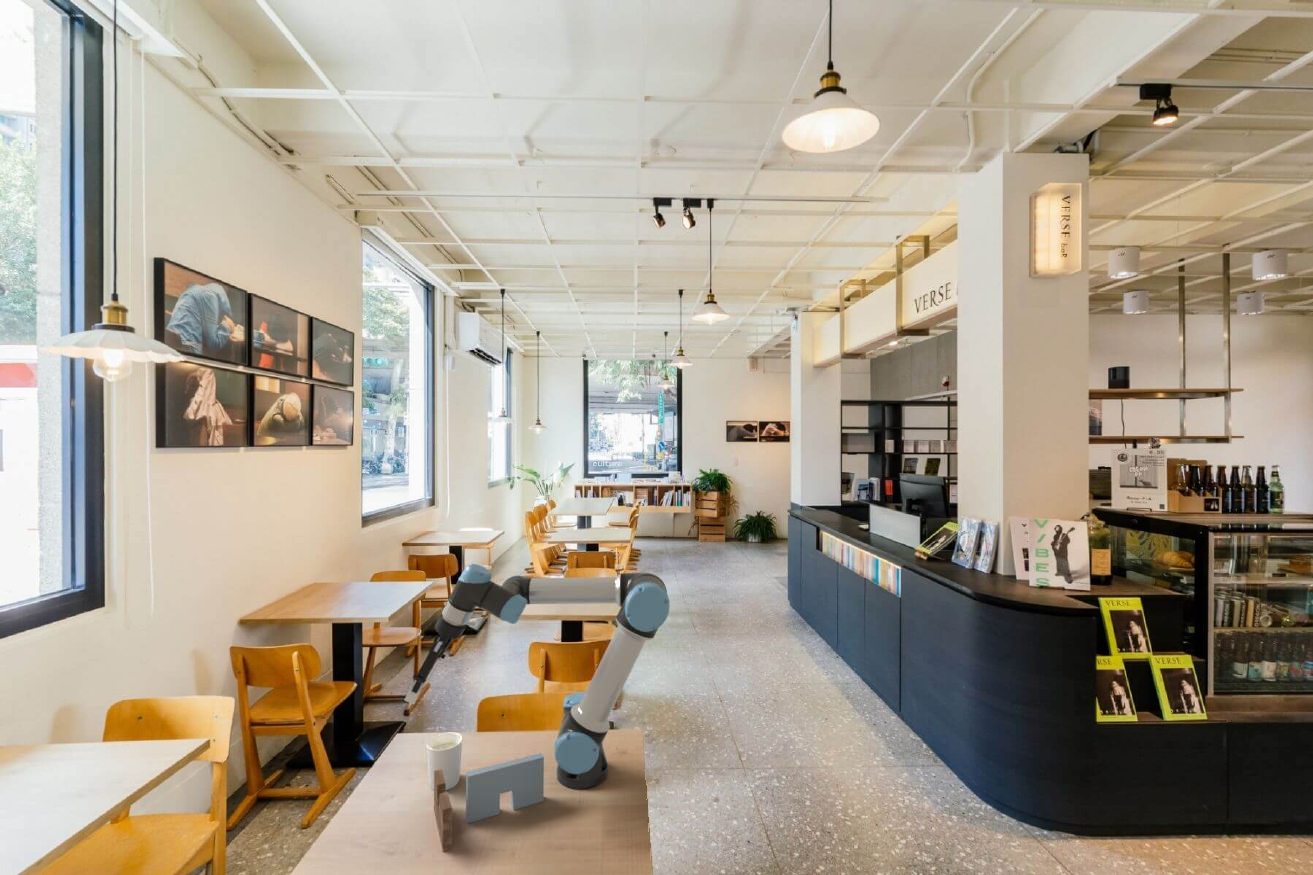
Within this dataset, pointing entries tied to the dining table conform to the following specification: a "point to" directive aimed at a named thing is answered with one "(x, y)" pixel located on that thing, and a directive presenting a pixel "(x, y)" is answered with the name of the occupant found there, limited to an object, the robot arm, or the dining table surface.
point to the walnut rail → (442, 810)
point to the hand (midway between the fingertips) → (417, 689)
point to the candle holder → (444, 757)
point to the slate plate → (504, 786)
